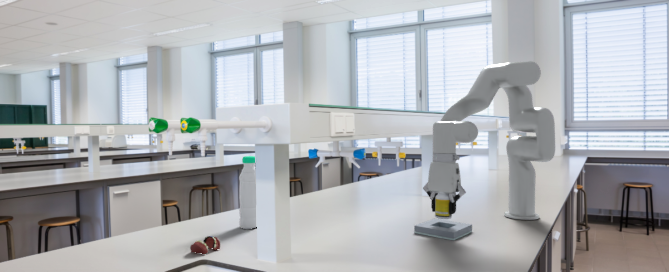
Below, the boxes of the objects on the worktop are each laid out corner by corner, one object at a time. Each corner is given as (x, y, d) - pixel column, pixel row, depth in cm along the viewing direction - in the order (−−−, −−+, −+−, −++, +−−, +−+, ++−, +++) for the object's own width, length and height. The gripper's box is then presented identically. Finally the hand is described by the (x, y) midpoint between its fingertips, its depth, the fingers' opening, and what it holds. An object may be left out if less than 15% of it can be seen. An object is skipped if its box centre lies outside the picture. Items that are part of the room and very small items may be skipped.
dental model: (187, 239, 121) (208, 233, 128) (187, 254, 121) (208, 247, 128) (202, 242, 118) (222, 236, 125) (201, 257, 118) (222, 250, 125)
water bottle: (235, 228, 149) (234, 156, 149) (246, 224, 156) (246, 155, 155) (252, 230, 147) (252, 157, 146) (263, 225, 153) (263, 155, 153)
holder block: (434, 225, 154) (434, 218, 154) (472, 231, 145) (472, 224, 145) (414, 232, 143) (414, 225, 143) (453, 240, 134) (453, 232, 134)
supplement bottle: (452, 220, 141) (452, 190, 140) (435, 219, 142) (435, 189, 141) (451, 216, 146) (451, 187, 146) (434, 215, 147) (435, 187, 147)
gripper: (473, 159, 141) (472, 214, 141) (426, 156, 152) (426, 207, 152) (463, 160, 135) (463, 218, 135) (415, 157, 146) (415, 210, 147)
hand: (443, 211), depth 144 cm, fingers closed on supplement bottle, 5 cm apart
